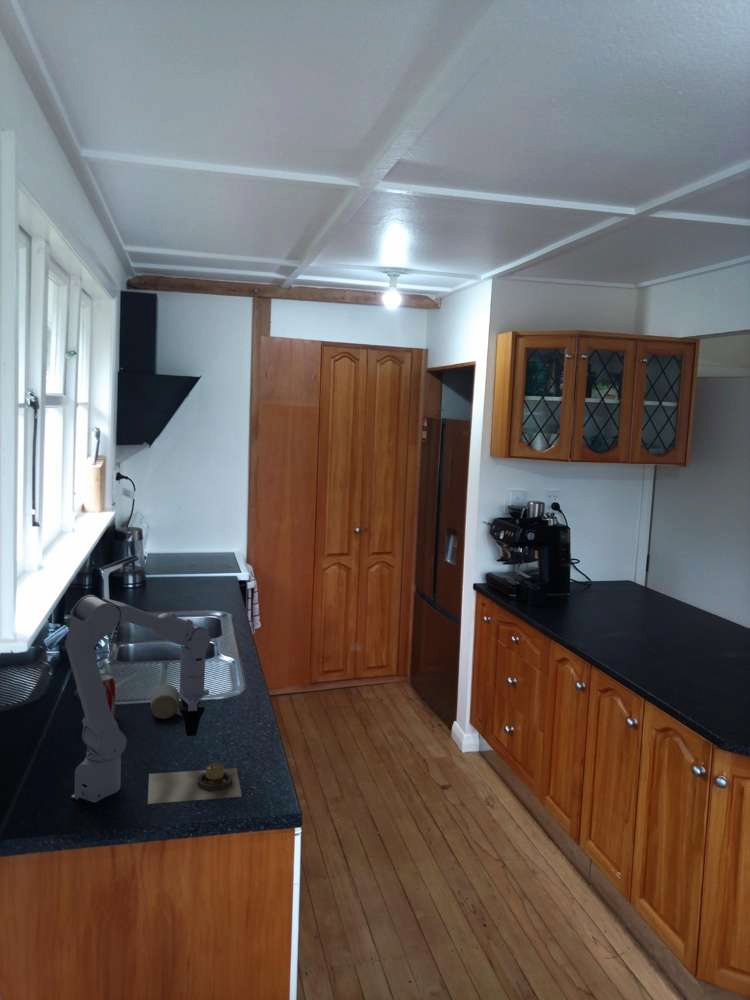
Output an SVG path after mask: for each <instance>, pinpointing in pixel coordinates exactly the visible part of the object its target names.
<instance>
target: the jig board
mask: <svg viewBox="0 0 750 1000" xmlns="http://www.w3.org/2000/svg"><path fill="white" fill-rule="evenodd" d="M242 796H243V795H242V790H241V785H240V779H239V774H238V768H237V767H230V768H224V781H223V783H222V784H218V785H210V784H206V769H203V770H202V769H201V770H190V771H189V770H188V771H187V770H185V771H172V772H160V773H159V772H158V773H148V791H147V805H153V804H166V803H177V802H178V803H179V802H180V803H181V802H190V801H191V802H193V801H203V800H204V801H205V800H216V799H217V800H218V799H229V798H230V799H231V798H242Z"/></svg>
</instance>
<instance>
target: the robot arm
mask: <svg viewBox="0 0 750 1000" xmlns="http://www.w3.org/2000/svg"><path fill="white" fill-rule="evenodd" d="M69 613H70V622H69V627H68V631H67V634H66V639H65V649H66V652H67V656H68V660H69V664H70V666H71V671H72V674H73V677H74V680H75V681H74V682H75V683H76V684H75V685H76V689H77V692H78V694H79V699H80V703H81V706H82V710H83V715H84V718H83V719H82V720H81V721H82V726H83V727H82V733H81V739H82V742H83V743H84V744H85V745H87V746H86V747H87V748H86V754H85V758H84V760H83V761H82V762H81V763H79V765H77V766H76V768H75V770H74V793H73V794H72V795H71V799H73V798H75V799H74V800H76V799H77V801H78V800H79V799H83V800H85V801H89V802H91V803H94V804H95V803H97V802H100V800H103V799H104V798H106V797H108V796H111V795H114V794H116V793H117V792H119V791H120V789H121V779H122V777H121V768H122V767H121V766H122V762H121V761H122V753H124V751H125V749H126V746H127V737H126V735H125V734H124V733H123V732H122V731H121V730H120V728H119V724H118V722H117V721H116V719H115V718H114V717H115V716H114V717H113V716H112V714H111V712H110V708H109V705H108V701H107V697H106V693H105V690H104V686H103V682H102V678H101V675H100V674H101V671H100V668H99V667H100V666H99V664H98V660H97V656H96V652H95V649H94V648H95V647H96V645H97V644H98V643H99V642H100V641H101V640H103V639H104V638H105V637H106V636H107V635H109V633H111V632H112V631H113V630H114V629H115V628H116V627H123V626H124V625H125V624H126V623H130V624H133V625H135V626H136V625H137V626H140V627H142V628H146V629H150V630H152V632H153V635H154V637H155V638H158V639H159V640H160V639H162V640H164V641H166V642H170V643H172V644H176V645H180V659H179V661H180V662H179V664H180V665H179V669H180V670H179V691H178V693H179V700H180V701H181V702H182V704H183V706H180V707H179V710H180V712H181V714H182V716H181V717H182V718H183V721H184V728H185V733H186V734H185V735H186V736H187V737H195V736H197V734H198V729H199V725H200V720H201V718H202V716H203V714H204V713H205V706H200V703H201V700H203V698H204V696H209V695H210V690H209V689H205V679H206V678H205V675H206V655H207V648H208V647H209V645H210V644H211V641H212V637H211V636H210V633H209V631H208V630H207V628H205V627H204V626H201V625H199V624H196V623H194V621H193V620H191V619H186V620H185V619H183V618H180V617H177V616H178V614H175V612H174V613H173V612H170V611H169V613H165V612H164V613H162V614H159V615H158V616H157V615H155V614H151V613H149V612H146V611H144V610H142V609H139V608H136V607H134V606H132V605H129V604H126V603H124V602H121V601H117V600H114V599H110V598H105V597H101V599H100V598H99V597H98V596H96V595H94V594H87V595H85V596H82V597H81V598H80V599H78V601H77V602H76V603H75V605H73V607H72V608H71V610H70V612H69Z"/></svg>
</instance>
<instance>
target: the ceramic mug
mask: <svg viewBox="0 0 750 1000" xmlns="http://www.w3.org/2000/svg"><path fill="white" fill-rule="evenodd" d="M150 698H151V699H150V710H151V712H152V714H153V716H154V717H155V718H157V719H160V720H168V719H170V718H172V717H173V716H175V715H176V716H181V717H183V716H182V714H181V712H180V706H183V704H182V701H181V700H180V697H179V691H178V689H177V688H176V687H175V686H173V685H172V684H168V683H163V684H159V685H158V686H156V687H155V688H154V689H153V690H152V693H151V696H150ZM178 707H179V708H178Z"/></svg>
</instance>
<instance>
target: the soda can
mask: <svg viewBox="0 0 750 1000" xmlns="http://www.w3.org/2000/svg"><path fill="white" fill-rule="evenodd" d="M100 675H101V678H102V682H103V686H104V690H105V693H106V697H107V701H108V705H109V708H110V712H111V714H112V716H113V717H115V714H116V713H115V712H116V711H115V710H116V681H115V679H114V678H113V677H114V676H113V674H110V673H104V672H103V673H101V672H100Z"/></svg>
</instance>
